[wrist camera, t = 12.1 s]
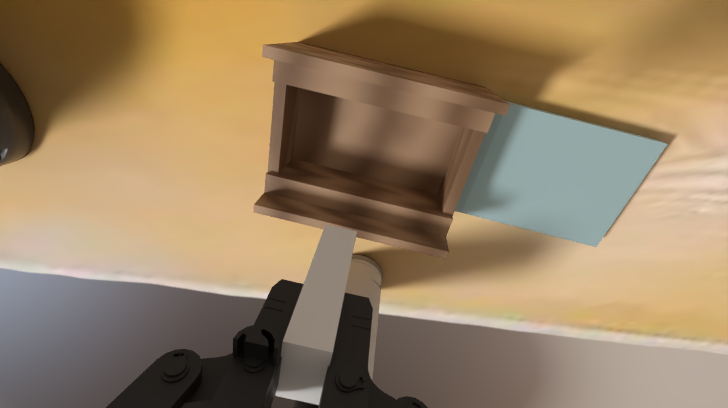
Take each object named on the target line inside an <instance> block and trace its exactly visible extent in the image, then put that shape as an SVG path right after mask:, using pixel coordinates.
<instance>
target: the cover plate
mask: <svg viewBox="0 0 728 408" xmlns="http://www.w3.org/2000/svg"><path fill="white" fill-rule="evenodd" d="M504 101H505V100H504ZM506 102H507V103H509V104H510V107H509V109H508V111H507V114H506V116H505V115H500V114H496V113H495V115H494V118H493V120H492V123H491V125H490V128H489V130H488V133H485V135H484V138H483V140H482V143H481V145H480V148H479V150H478V153H477V156H476V158H475V161H474V163H473V166H472V168H471V171H470V173H469V176H468V178H467V181H466V183H465V186H464V188H463V191H462V193H461V196H460V198H459V201H458V203H457V206H456V208H455V211H457V212H461V213H465V214H469V215H473V216H477V217H481V218H484V219H488V220H492V221H496V222H500V223H504V224H508V225H512V226H516V227H520V228H524V229H528V230H532V231H536V232H539V233H543V234H547V235H551V236H555V237H559V238H563V239H567V240H571V241H575V242H579V243H583V244H587V245H591V246H594V247H597V245H598V244H599V242H600V241H601V239H602V238H603V237H604V235H605V234H606V232H607V231H608V229H609V228H610V227H611V225H612V224H613V222H614V221H615V219H616V218H617V216H618V215H619V214H620V212H621V211H622V209H623V208H624V206H625V205H626V204H627V202H628V201H629V199H630V198H631V196H632V195H633V193H634V192H635V191H636V189H637V188H638V186H639V185H640V183H641V182H642V181H643V179H644V178H645V176H646V175H647V173H648V172H649V170H650V169H651V168H652V166H653V165H654V163H655V162H656V160H657V159H658V158H659V156H660V155H661V153H662V152H663V150H664V149H665V147H666V146H667V145H668V144H667V143H664V142H662V141H660V140H657V139H653V138H649V137H645V136H642V135H638V134H634V133H630V132H626V131H622V130H618V129H614V128H610V127H606V126H602V125H599V124H595V123H591V122H587V121H583V120H579V119H575V118H571V117H567V116H563V115H559V114H556V113H552V112H548V111H544V110H540V109H536V108H532V107H528V106H524V105H520V104H516V103H512V102H509V101H506Z"/></svg>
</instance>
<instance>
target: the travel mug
mask: <svg viewBox="0 0 728 408" xmlns="http://www.w3.org/2000/svg"><path fill="white" fill-rule="evenodd" d="M381 283H382V272H381V269H380V267H379V266H378V264H377V263H376V262H375V261H374V260H372V259H370V258H368V257H366V256H363V255H352V259H351V264H350V269H349V274H348V279H347V284H346V289H345V293H350V294H354V295H359V296H363V297H368V298H369V300H370V302H371V305H372V307H373V314H372V326H371V337H370V348H369V360H368V372H369V375H370V378H371V379H372V375H373V365H374V354H375V345H376V344H375V343H376V334H377V324H378V314H379V304H380V293H381ZM318 407H319V405H317V404H312V403H307V402H303V401H298V400H295V403H294V406H293V408H318Z"/></svg>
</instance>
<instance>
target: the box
mask: <svg viewBox="0 0 728 408" xmlns="http://www.w3.org/2000/svg"><path fill="white" fill-rule="evenodd" d="M262 57H264V58H269V59H273V60H274V70H273V81H274V82H275V85H274V98H273V111H272V124H271V137H270V150H269V163H268V172H267V173H266V179H265V193H264V194H263V195H262V196H261V197H260V198H259V199H258V201H257V202H256V203H255V204H254V212H255V213H259V214H263V215H267V216H271V217H276V218H280V219H284V220H288V221H292V222H296V223H300V224H304V225H309V226H313V227H317V228H321V229H324V228H325V225H326V224H327V225H331V226H336V227H340V228H345V229H349V230H354V231H357V234H356V237H358V238H362V239H366V240H371V241H375V242H379V243H383V244H387V245H391V246H395V247H399V248H404V249H408V250H412V251H416V252H420V253H424V254H428V255H432V256H437V257H441V258H445V259H446V258H447V255H448V253H449V250H448V245H447V240H446V235H447V233H448V230H449V228H450V225H451V223H452V220H453V218H452V216H453V213H454V211H455V208H456V206H457V203H458V201H459V198H460V196H461V193H462V191H463V188H464V186H465V183H466V181H467V178H468V176H469V173H470V171H471V168H472V166H473V163H474V161H475V158H476V156H477V153H478V150H479V148H480V145H481V143H482V140H483V138H484V135H485V133H488V130H489V128H490V125H491V123H492V120H493V118H494V115H495V113H496V114H500V115H505V116H506V114H507V111H508V109H509V107H510V104H509V103H507V102H506V101H504V100H503V99H501V98H500V97H498V96H497V95H495V94H494V93H492V92H491V91H490V90H488V89H487V88H485V87H482V86H477V85H473V84H469V83H465V82H461V81H457V80H453V79H448V78H444V77H440V76H436V75H432V74H428V73H424V72H419V71H415V70H411V69H407V68H403V67H399V66H395V65H390V64H386V63H382V62H378V61H374V60H370V59H366V58H361V57H357V56H353V55H349V54H345V53H341V52H337V51H332V50H328V49H324V48H320V47H316V46H312V45H308V44H303V43H299V42H294V43H281V44H268V45H263V54H262Z"/></svg>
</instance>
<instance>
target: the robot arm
mask: <svg viewBox="0 0 728 408" xmlns="http://www.w3.org/2000/svg"><path fill="white" fill-rule="evenodd" d="M32 142H33V122H32V118H31V114H30V111H29V108H28V105H27V103H26V101H25V99H24V97H23V95H22V93H21V91H20V90H19V88H18V87H17V85H16V84H15V82H14V81H13V79H12V78H11V77H10V75H9V74H8V73H7V72H6V70H5V69H4V68H3V67H2V66H1V65H0V166H2V165H5V164H8V163H11V162H14V161H17V160H19V159H21V158H22V157H24V156H25V155H26V154H27V152H28V151H29V149H30V147H31V145H32ZM356 234H357V231H354V230H349V229H345V228H340V227H336V226H331V225H327V224H326V225H325V228H324V231H323V233H322V236H321V239H320V241H319V244H318V247H317V250H316V252H315V255H314V258H313V260H312V263H311V266H310V269H309V271H308V274H307V277H306V279H305V282H304V284H301V283H296V282H292V281H287V280H283V279H282V280H280V281H279V282H278V283H277V284H275V285H274V286H273V287H272V289H271V291H270V293H269V295H268V297H267V300H266V301H265V303H264V305H263V308H262V309H261V311H260V314H259V315H258V317H257V319H256V322H255V324H254V325H253V326H249V327H246V328H244V329H243V330H241V331H239V332H238V333H237V335H236V336H235V337H234V338H233V353H232V354H229V355H227V356H223V357H217V358H207V359H200V356H199V355H197V354H196V353H195V352H194V351H191V350H187V349H179V350H174V351H171V352H168V353H166V354H164V355H163V356H161V357H160V358H159V359H157V360H156V361H155V362H154V363H153V364H152V365H151V366H150V367H148V369H146V370H145V371H144V372H143V373H142V374H141V375H140V376H139V377H138V378H137V379H136V380H135V381H134V382H133V383H132V384H130V385H129V386H128V387H127V388H126V389H125V390H124V391H123V392H122V393H121V394H120V395H119V396H118V397H117V398H116V399H115V400H114V401H112V402H111V403H110V404H109V405H108V406H107V407H106V408H271V405H272V402H273V399H274V396H275V393H276V396H279V397H284V398H289V399H293V400H298V401H303V402H307V403H312V404H317V405H319V407H318V408H427V407H426V405H424V403H423V402H421V401H419V400H418V399H416V398H413V397H407V396H406V397H402V398H398V399H397V400H396V399H394V398H393V397H391V396H389V395H387V394H386V393H384V392H383V391H381V390H380V389H379V388H378V387H377V386H376V385H375V384H374V383H373V382H372V379H371V378H370V375H369V372H368V360H369V348H370V337H371V326H372V314H373V307H372V305H371V302H370V300H369V298H368V297H363V296H359V295H354V294H350V293H345V289H346V284H347V279H348V274H349V269H350V264H351V259H352V254H353V249H354V244H355V239H356Z"/></svg>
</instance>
